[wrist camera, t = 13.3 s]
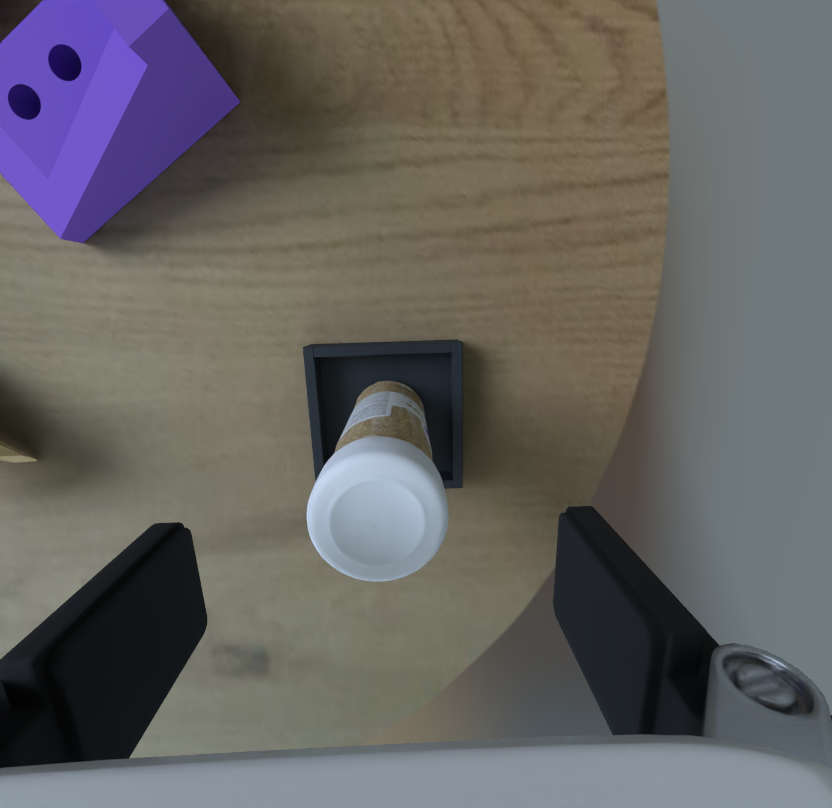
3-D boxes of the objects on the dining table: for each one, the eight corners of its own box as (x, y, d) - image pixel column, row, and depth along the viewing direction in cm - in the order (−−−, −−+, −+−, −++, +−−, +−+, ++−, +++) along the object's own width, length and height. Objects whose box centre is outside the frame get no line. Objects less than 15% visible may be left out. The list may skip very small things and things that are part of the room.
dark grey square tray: (457, 339, 25) (462, 342, 23) (458, 475, 27) (462, 488, 25) (310, 344, 25) (302, 347, 23) (322, 481, 27) (316, 494, 25)
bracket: (146, -26, 20) (18, -193, 13) (240, 102, 21) (168, 8, 15) (-17, 133, 21) (-208, 53, 15) (82, 243, 23) (-49, 216, 16)
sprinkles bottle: (435, 430, 26) (472, 556, 13) (371, 457, 26) (343, 608, 13) (407, 366, 25) (415, 431, 12) (340, 395, 25) (276, 490, 12)
